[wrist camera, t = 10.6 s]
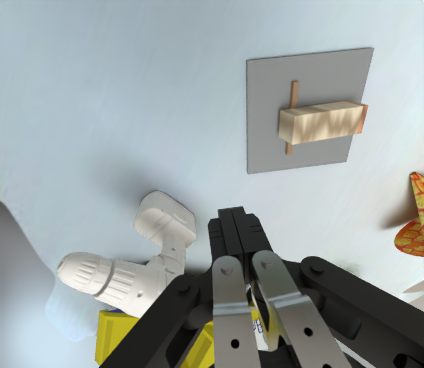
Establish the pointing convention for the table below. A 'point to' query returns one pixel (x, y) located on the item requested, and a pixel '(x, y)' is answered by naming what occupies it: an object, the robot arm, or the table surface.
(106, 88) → the table surface
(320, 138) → the birch block
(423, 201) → the sculpture
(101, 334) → the toy truck
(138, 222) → the power drill
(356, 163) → the table surface
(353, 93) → the mat
